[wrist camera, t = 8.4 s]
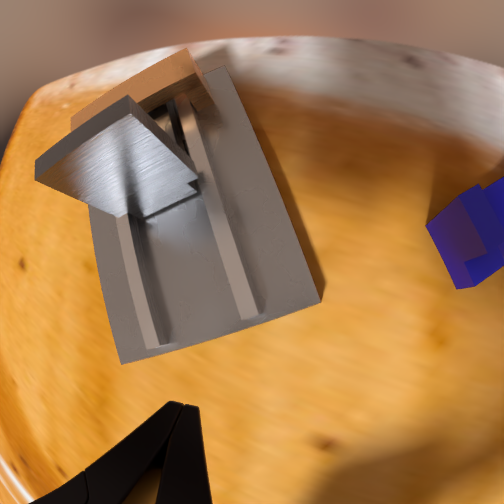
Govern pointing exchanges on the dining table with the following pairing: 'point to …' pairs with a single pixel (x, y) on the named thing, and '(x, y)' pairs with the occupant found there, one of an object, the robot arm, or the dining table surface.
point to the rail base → (198, 227)
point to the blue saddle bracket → (471, 234)
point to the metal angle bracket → (122, 161)
